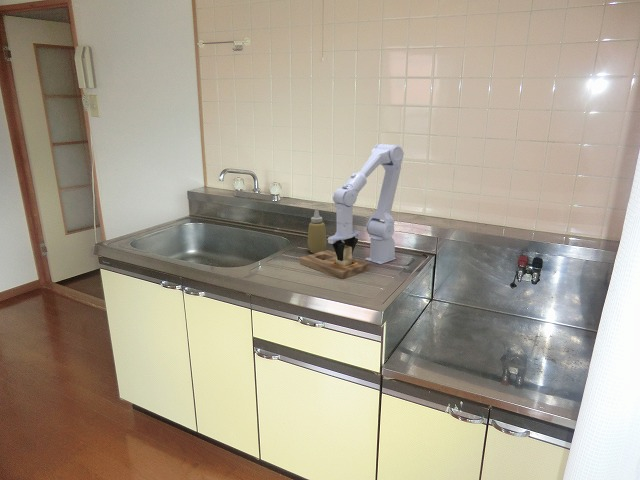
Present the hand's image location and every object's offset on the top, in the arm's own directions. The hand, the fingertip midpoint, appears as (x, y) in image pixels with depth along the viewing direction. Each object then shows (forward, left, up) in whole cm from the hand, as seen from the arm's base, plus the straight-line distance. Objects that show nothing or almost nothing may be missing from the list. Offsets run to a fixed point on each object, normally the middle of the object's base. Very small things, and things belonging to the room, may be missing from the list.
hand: (344, 258), depth 171 cm
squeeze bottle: (-8, -24, -5) cm, 26 cm away
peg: (0, 0, -3) cm, 4 cm away
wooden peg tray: (0, -6, -4) cm, 7 cm away
